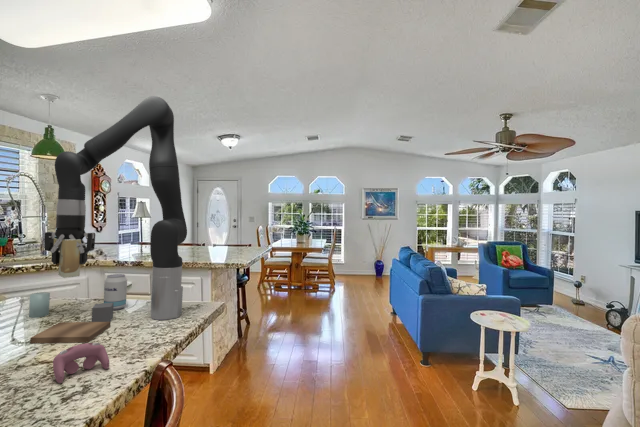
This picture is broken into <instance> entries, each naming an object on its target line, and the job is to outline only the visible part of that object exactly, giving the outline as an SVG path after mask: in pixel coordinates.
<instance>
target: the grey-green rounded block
mask: <svg viewBox="0 0 640 427" xmlns="http://www.w3.org/2000/svg"><path fill="white" fill-rule="evenodd" d="M50 301H51V292H45V291H43V292H34V293H31V294H29V305H28V306H29V307H28V308H29V309H28V317H29V318H34V319H35V318H42V317H47V316H49V315H50Z"/></svg>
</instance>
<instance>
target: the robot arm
mask: <svg viewBox="0 0 640 427" xmlns="http://www.w3.org/2000/svg"><path fill="white" fill-rule="evenodd" d="M174 125H175V116H174V111H173V110H172V108H171V107H170V105H169V104H168V102H167V101H166V100H165V99H164V98H162V97H160V96H157V95H156V96H155V95H154V96H153V95H152V96H149V97H147V98H145V99H143V100H142V101H141V102H139V104H138V105H137V106H135V107H134V108H133V109H132V110H130V111H129V112H128V113H127V114H125V116H123V117H121V119H119V120H118V121H117V122H115V123H114V124H113V125H111V126H110V127H108V128H106V129H105V130H104V131H102V132H100V133H98V134H97V135H95V136H94V137H92V138H90V139H89V140H86V142H85V143H84V145H83V148H82V149H81V150H79V151H78V152H77V153H76V152H73V151H66V150H65V151H63V152H60V153H59V154H57V156H56V158H55V160H54V172H55V176H56V181H57V185H58V191H57V192H58V193H57V199H58V200H57V204H56V210H55V211H56V216H55V217H56V220H55V227H56V231H45V232H44V251H46V252H50V253H51V263H53V265H59V254H60V246H61V243H62V240H63V239H71V240H77V239H80V240H81V244H80V243H79V242H78V241H77V245H76V247H79V251H80V252H81V253H80V261H79V264H80V265H85V264H86V263H88V253H89V252H92V251H94V250H95V244H96V233H95V232H86V230H85V227H86V210H87V207H86V206H87V205H86V185H85V184H84V183H83V182H82V179H81V178H82V175H85V174H87V173H89V172H91V171H92V170H93V169H94V168H95V167H96V166H98V164H100V163H101V161H103V160H105V159H106V158H107V157H109V156H111V155H112V154H114V153H116V152H118V151H119V150H120V149H121V148H123V147H124V146H125V145H126V144H127V142H129V140H130V139H132V137H133V136H135V135H136V134H137V133H138V132H140V131H141V130H142V129H145V128H147V127H149V131H150V135H151V149H150V154H149V160H148V163H149V164H148V168H149V178H150V184H151V188H152V189H153V191H154V194H155V196H156V198H157V200H158V202H159V203H160V207H161V215H162V219H161V220H159V221H156V223H154V225H153V226H152V227H151V231H150V258H151V261H152V273H151V274H152V276H151V292H150V293H151V295H150V318H151V319H152V320H158V321H160V320H161V321H162V320H163V321H164V320H172V319H177V318H179V317H180V316H181V314H182V313H183V291H184V286H182V279H183V276H182V275H183V258H182V257H181V256H180V255H179V252H178V251H179V245H181V244H183V243H184V241H186V239H187V235H188V228H187V226H188V225H187V222H186V218H185V213H184V209H183V202H182V201H183V200H182V191H181V183H180V182H181V181H180V172H179V163H178V157H177V151H176V146H175V137H174V136H175V133H174V132H175V131H174V130H175V126H174ZM55 238H56V239H57V240H56V241H55ZM84 238H85V239H86V242H85V241H84Z"/></svg>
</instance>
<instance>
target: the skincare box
mask: <svg viewBox="0 0 640 427" xmlns="http://www.w3.org/2000/svg"><path fill="white" fill-rule="evenodd" d="M77 241H78V242H79V243H80V244H81V240H80V239H77V240H71V239H63V240H62V243H61V246H60V251H59V252H60V254H59V264H58V275H59V276H60V277H62V278H64V279H66V278H74V277H77V278H78V277H80V274H81V273H80V272H81V270H80V269H81V264H79V261H80V253H81V252H80V251H79V247H76V245H77Z"/></svg>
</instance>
